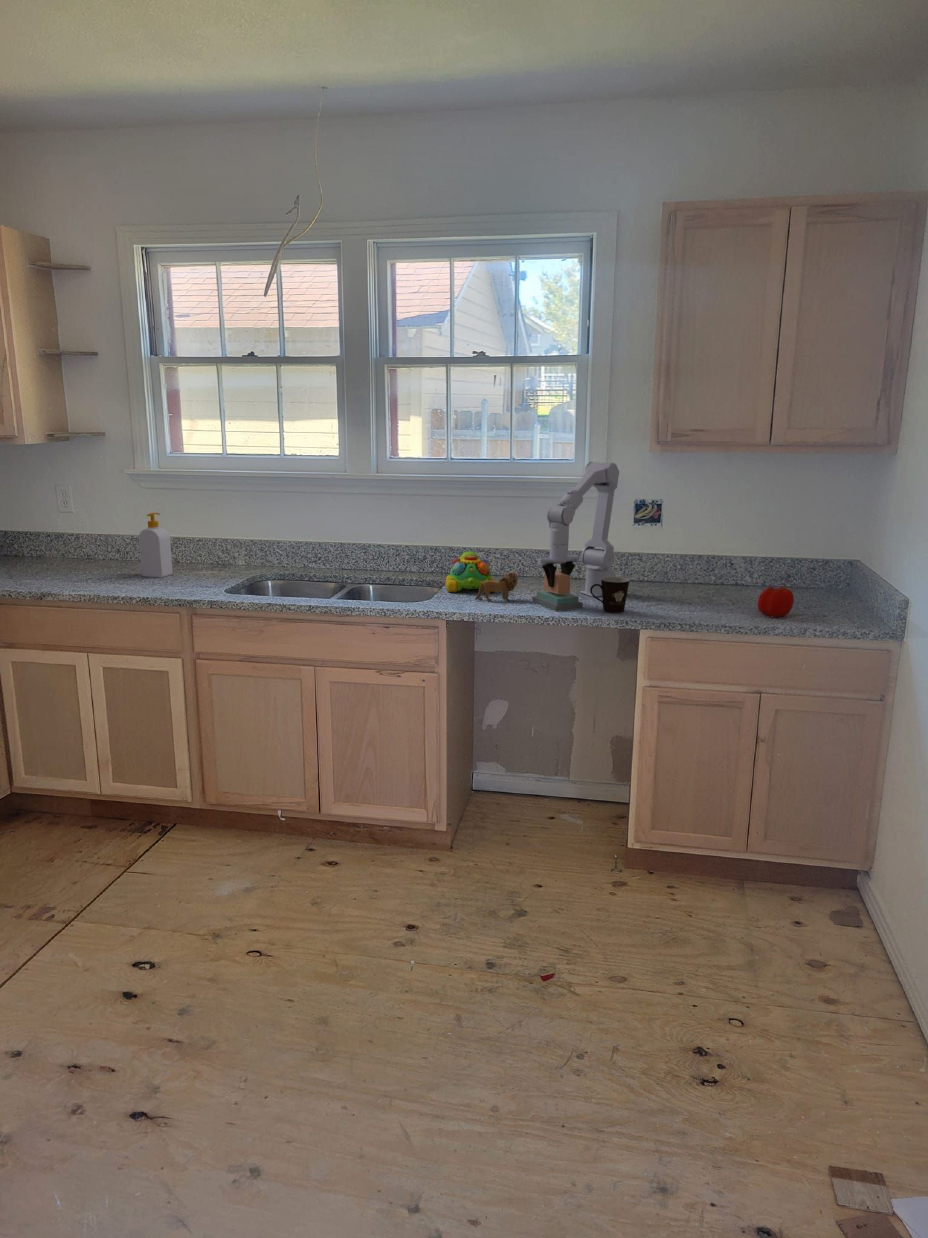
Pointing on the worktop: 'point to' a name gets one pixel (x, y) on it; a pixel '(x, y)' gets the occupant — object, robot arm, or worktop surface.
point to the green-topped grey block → (557, 600)
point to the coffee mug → (613, 593)
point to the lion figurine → (498, 586)
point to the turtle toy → (468, 573)
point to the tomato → (775, 601)
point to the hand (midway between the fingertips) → (557, 586)
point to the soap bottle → (155, 550)
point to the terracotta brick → (559, 584)
